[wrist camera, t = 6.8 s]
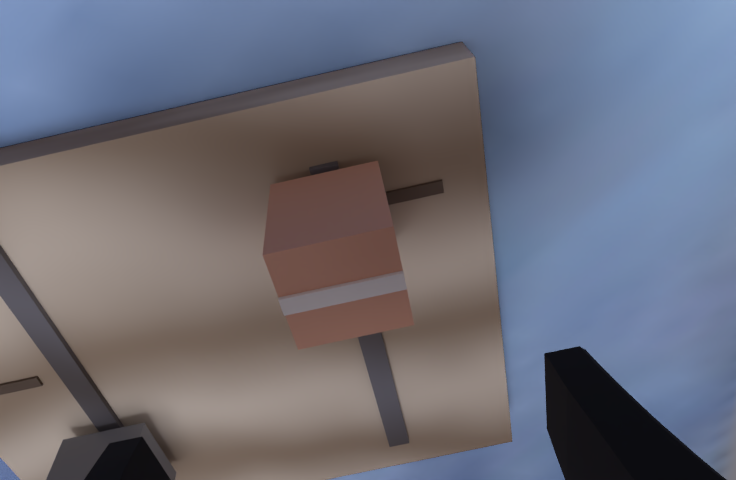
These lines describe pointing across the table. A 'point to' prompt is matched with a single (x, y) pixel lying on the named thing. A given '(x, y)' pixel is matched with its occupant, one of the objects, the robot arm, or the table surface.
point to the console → (250, 282)
